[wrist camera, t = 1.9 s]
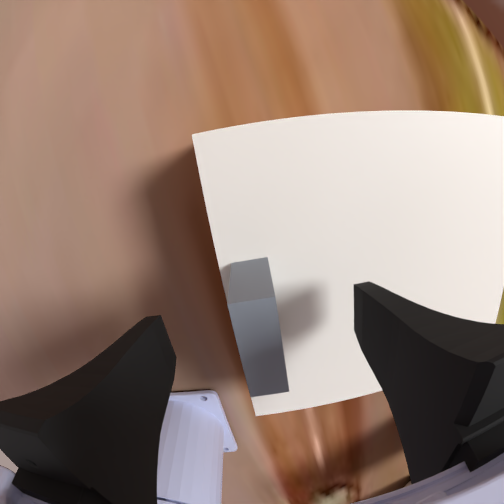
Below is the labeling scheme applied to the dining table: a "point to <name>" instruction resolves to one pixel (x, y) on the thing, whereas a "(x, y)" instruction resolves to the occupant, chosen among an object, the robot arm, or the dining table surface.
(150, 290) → the dining table surface
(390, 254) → the lid
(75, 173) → the dining table surface
